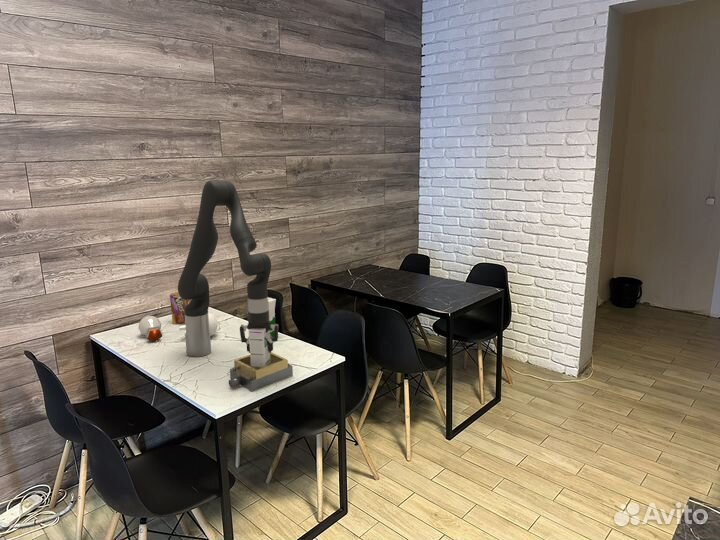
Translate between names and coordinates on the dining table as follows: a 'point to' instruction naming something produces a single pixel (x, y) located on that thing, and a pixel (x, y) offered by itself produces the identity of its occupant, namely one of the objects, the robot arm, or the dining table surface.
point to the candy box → (178, 308)
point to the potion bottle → (151, 328)
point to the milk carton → (271, 314)
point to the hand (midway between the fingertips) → (260, 351)
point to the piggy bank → (212, 324)
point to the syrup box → (259, 348)
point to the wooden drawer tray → (259, 372)
